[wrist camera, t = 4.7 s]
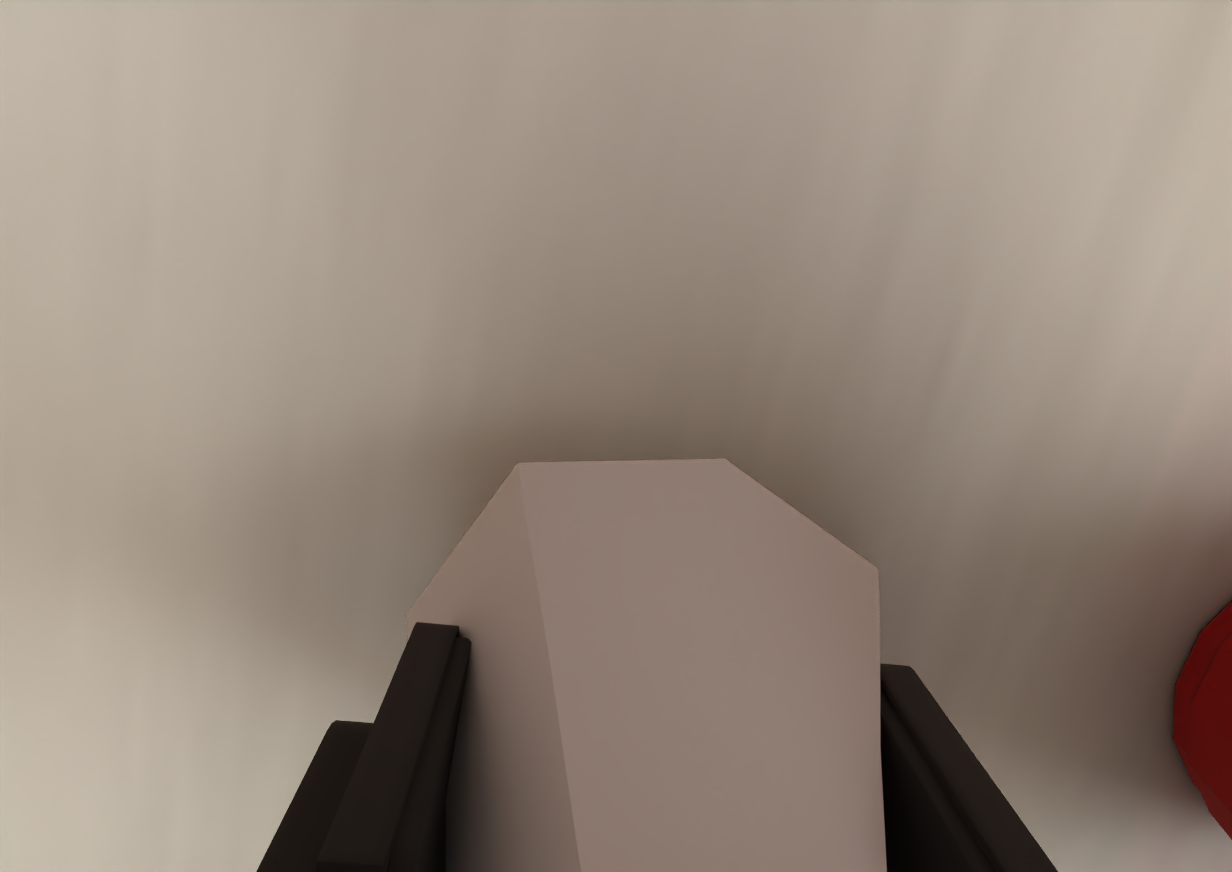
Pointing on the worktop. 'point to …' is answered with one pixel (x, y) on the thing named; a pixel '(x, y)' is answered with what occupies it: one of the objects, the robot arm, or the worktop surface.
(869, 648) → the flask
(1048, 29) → the worktop surface
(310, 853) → the robot arm
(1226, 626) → the plastic cup
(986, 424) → the worktop surface
